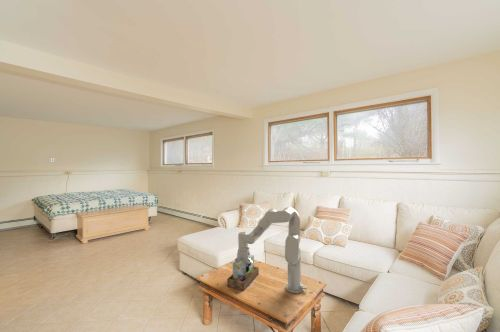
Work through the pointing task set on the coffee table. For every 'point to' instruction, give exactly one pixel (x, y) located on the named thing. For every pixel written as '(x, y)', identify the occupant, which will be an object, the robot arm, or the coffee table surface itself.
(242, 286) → the walnut crate
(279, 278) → the coffee table surface
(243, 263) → the snack box
